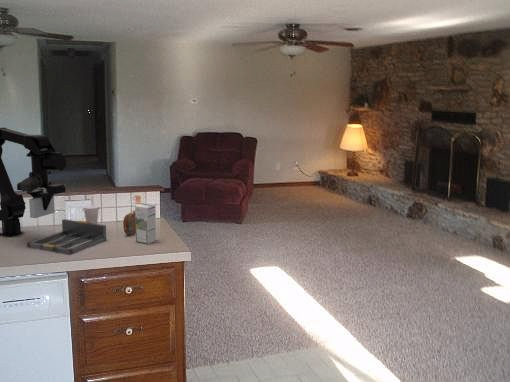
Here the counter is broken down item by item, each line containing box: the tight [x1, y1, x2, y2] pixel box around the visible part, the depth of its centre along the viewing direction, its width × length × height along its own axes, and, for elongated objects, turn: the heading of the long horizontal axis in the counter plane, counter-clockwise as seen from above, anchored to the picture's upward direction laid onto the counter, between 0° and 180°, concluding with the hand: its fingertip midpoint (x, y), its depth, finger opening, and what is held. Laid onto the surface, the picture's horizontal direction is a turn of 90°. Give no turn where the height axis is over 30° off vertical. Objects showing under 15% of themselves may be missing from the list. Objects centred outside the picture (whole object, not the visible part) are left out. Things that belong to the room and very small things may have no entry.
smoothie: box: [82, 195, 100, 224], centre depth 224 cm, size 6×6×14 cm
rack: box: [26, 218, 107, 256], centre depth 204 cm, size 20×20×6 cm
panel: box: [28, 194, 55, 219], centre depth 207 cm, size 2×10×7 cm, turn 157°
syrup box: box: [134, 202, 157, 245], centre depth 209 cm, size 6×6×14 cm
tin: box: [122, 209, 136, 236], centre depth 222 cm, size 15×3×8 cm, turn 168°
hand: (42, 209), depth 207 cm, fingers closed on panel, 2 cm apart
